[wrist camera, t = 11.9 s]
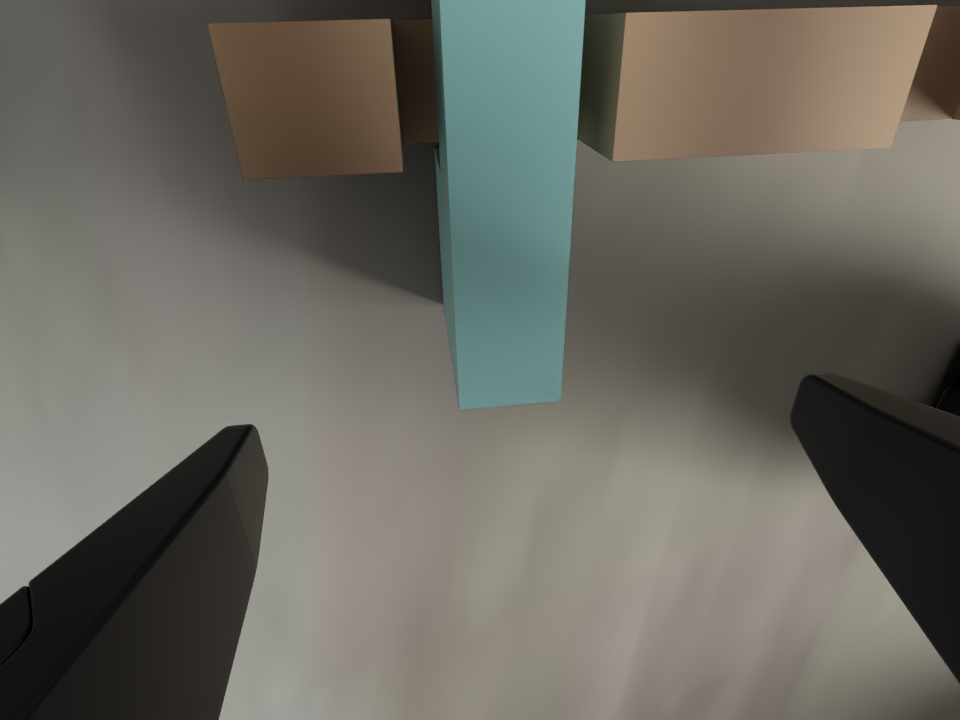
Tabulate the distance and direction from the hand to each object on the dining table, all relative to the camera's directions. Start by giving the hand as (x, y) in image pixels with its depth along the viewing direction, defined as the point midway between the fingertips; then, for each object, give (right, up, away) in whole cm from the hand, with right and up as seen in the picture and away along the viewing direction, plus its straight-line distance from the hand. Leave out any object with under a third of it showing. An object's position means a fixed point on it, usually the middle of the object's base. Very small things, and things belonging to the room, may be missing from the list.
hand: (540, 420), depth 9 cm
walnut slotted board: (+4, +9, +7) cm, 12 cm away
